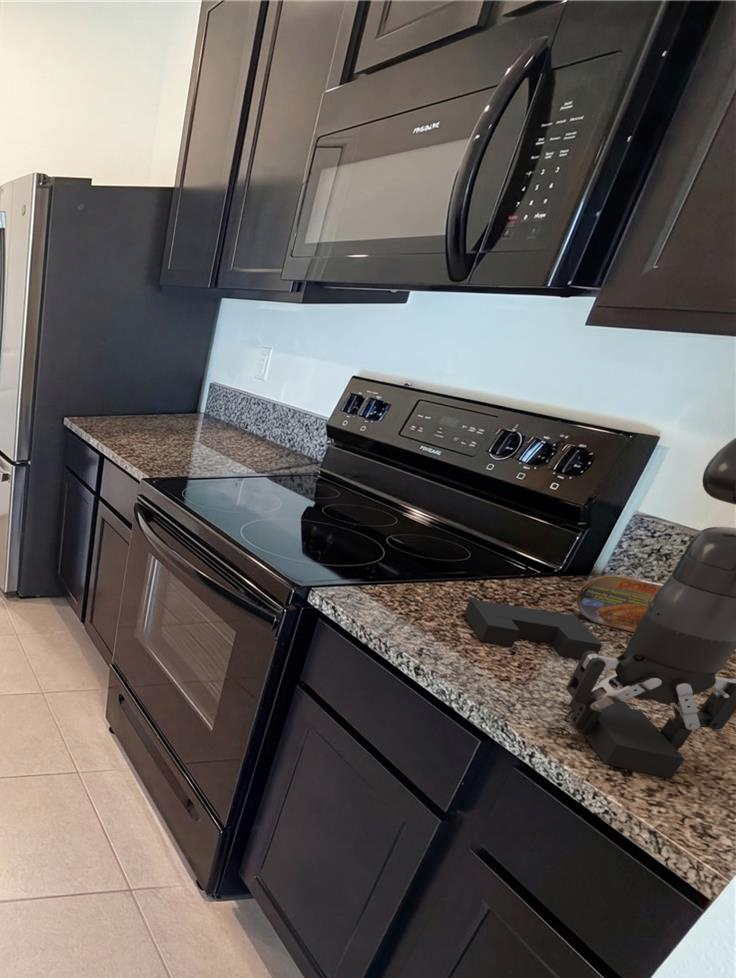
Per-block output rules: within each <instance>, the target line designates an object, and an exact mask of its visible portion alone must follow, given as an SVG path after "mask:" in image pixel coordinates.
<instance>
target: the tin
mask: <svg viewBox="0 0 736 978" xmlns="http://www.w3.org/2000/svg"><path fill="white" fill-rule="evenodd" d="M663 585H664V583H659V582H656V581H650V580H646V579H641V578H637V577H631V576H627V575H623V574H604V575H599V576H597V577H594V578H591V579H590V580H588V581H587V582H585V583H584V584H583V585H582V586H581V588H580V589H579V590H578V593H577V595H576V607H577V610H578V611H579V612H580V614H581V615H582V616H584V618H586V619H587V620H589V621H591V622H593V623H594V624H598V625H602V626H606V627H611V628H615V629H619V630H623V631H626V632H630V633H634V631H635V630H636V628H637V626H638V625H639V623H640V621H641V619H642V618H643V616H644V614H645V612H646V611H647V608H648V606H649V604H650V603H651V602H652V601H653V599H654V597H655V595H656V594H657V592H658V591H659V589H660V588H661V587H662V586H663Z"/></svg>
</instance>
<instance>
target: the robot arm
mask: <svg viewBox="0 0 736 978" xmlns="http://www.w3.org/2000/svg"><path fill="white" fill-rule="evenodd" d="M702 488H703V489H704V491H705V493H706V494H707V495H708V496H710V497H711V498H713V499H715V500H717V501H720V502H724V503H726V504H727V503H728V504H731V505H734V506H735V505H736V437H735V438H733V439H732V440H730V441H728V443H726V444H725V445H724V446H723V447H722V448H720V449H719V450H718V451H717V452H716V453H715V454H714V455H713V456H712V457H711V459H710V460H709V461H708V463H707V465H706V467H705V469H704V471H703V475H702ZM663 584H664V585H663V586H662V587H661V588H660V589H659V591H658V592H657V594H656V595H655V597H654V599H653V601H652V602H651V603H650V604H649V606H648V608H647V611H646V612H645V614H644V616H643V618H642V619H641V621H640V623H639V625H638V626H637V628H636V630H635V631H634V632H632V634H631V636H630V638H629V640H628V642H627V645H626V648H625V650H624V652H623V653H621V654H619V655H618V656H616V657H609V656H604V655H599V653H598V654H597V653H596V652H595V651H586V652H585V653H584V654H583V656H582V658H581V659H579V662H578V663H577V666H576V667H575V669H574V671H573V673H572V675H571V677H570V679H569V681H568V683H567V685H566V687H565V690H566V691H567V692H568V694H569V695H570V696H571V697H572V698H573V699H574V700H575V701H576V702H579V703H580V705H579V706H578V708H577V710H576V712H575V713H574V715H573V717H572V719H571V723H572V725H573V726H574V728H575V730H576V731H577V733H578V734H579V735H583V736H584V735H589V734H590V732H591V730H592V729H593V727H594V725H595V724H596V722H597V720H598V719H599V717H600V715H601V713H602V712H601V711H600V710H602V709H604V708H606V707H608V706H610V705H612V704H614V703H616V702H618V703H622V702H624V701H625V702H626V701H628V700H630V699H633V698H634V699H637V700H643V701H654V702H657V703H659V704H662V705H663V704H664V705H668V706H669V705H670V706H671V709H672V713H673V715H674V718H673V717H669V718H668V719H667V721H666V722H665V724H664V725H663V727H662V728H661V730H659V731H660V732H661V733H662V734H663V735H664V736H665V738H666V739H667V740H668V741H669V742H670V743H671V744H672V745H673V746H674V747H675V749H676V750H677V751H678V750H680V749H681V748H682V747H683V745H684V744H685V742H686V741H687V739H688V738H689V736H690V735H691V734H692V732H693V731H696V730H699V729H700V728H709V729H711V730H712V731H718V730H722V729H723V728H724V727H725V726H726V724H727V723H728V722H729V720H730V719H731V718H732V716H733V715H734V714H735V713H736V677H735V676H733V675H725V676H723V677H721V676H717V673H719V672H721V671H722V670H723V669H724V667H725V665H726V664H727V662H728V661H729V659H730V658H731V656H732V655H733V654H734V652H735V650H736V527H734V526H733V527H732V526H711V527H706V528H703V529H701V530H700V531H698V532H697V533H696V534H695V535H694V536H693V537H692V539H691V540H690V542H689V544H688V545H687V547H686V549H685V550H684V552H683V553H682V555H681V556H680V559H679V560H678V562H677V563H676V565H675V567H674V569H673V571H672V572H671V574H670V576H669V577H668V578H667V580H666V581H665V582H664V583H663ZM613 669H614V672H615V673H613V674H611V675H609V676H607V677H605V678H604V679H602V680H601V681H599V684H597V682H598V680H599V679H600V677H601V676H606V675H607V673H608V672H609V671H610V670H613ZM596 684H597V686H596ZM619 686H621V688H620V689H618V687H619ZM707 690H710V692H711V693H710V694H709V695H708V697H707V698H706V700H705V701H704V703H703V704H702V706H701V707H700V708H699V710H698V706H697V703H696V700H695V697H694V696H695V695H698V694H700V693H702V692H704V691H707Z"/></svg>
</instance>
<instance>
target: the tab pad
mask: <svg viewBox="0 0 736 978" xmlns="http://www.w3.org/2000/svg"><path fill="white" fill-rule="evenodd" d="M568 704H569V706H570V708H571V709H572V711H573V712H572V713H571V715H570V719H571V720H572V717H573V715H574V713H575V712H576V710H577V708H578V706H579V705H580V703H579V702H576V701H575V700H574V699H573V697H572V698H571V700H570V702H569V703H568ZM600 711H601V712H602V713H601V715H600V717H599V719H598V720H597V722H596V724H595V725H594V727H593V729H592V730H591V732H590V734H589V735H583V736H584V738H585V740H587V742H588V743H589V745H590V747H591V748H592V749H593V750H594V752H595V753H596V755H597V756H598V757H599V758H600V760H601V761H602V762H603V764H604V765H607V766H611V767H616V768H619V769H623V770H624V769H625V770H630V771H634V772H637V773H642V774H647V775H651V776H656V777H661V778H664V779H669V780H670V779H672V778H673V777H674V775H675V774H676V772H677V771H678V770H679V768H680V767H681V766H682V764H683V762H685V757H684V756H683V755H682V753H680V751H678V750H676V749H675V747H674V746H673V745H672V744H671V743H670V742H669V741H668V740H667V739H666V738H665V736H664V735H663V734H662V733H661V732H660V731H661V730H659V728H657V727H656V725H655V724H654V723H653V722H652V721H651V719H650V718H648V717H647V716H646V714H645V713H644V712H643V711H642V710H641V709H636V708H631V707H630V706H629V705H628V704H627V702H626V701H624V702H622V703H618V702H616V703H614V704H612V705H610V706H608V707H606V708H604V709H602V710H600Z"/></svg>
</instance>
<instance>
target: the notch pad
mask: <svg viewBox="0 0 736 978" xmlns="http://www.w3.org/2000/svg"><path fill="white" fill-rule="evenodd" d="M463 616H464V617H465V619H466V620H467V622H468V624H469V625H470V627H471V628H472V630H473V631H474V633H475V635H476V636H477V637H478V640H479V641H480V642H482V643H488V644H493V645H498V646H505V647H510V648H513V645H514V643H515V641H516V640H517V639H523V640H528V641H533V642H539V643H545V644H549V645H551V647H552V648H553V649H554V650H555V651H556V652H557V654H558V655H559V656H561V657H565V658H570V659H575V660H581V658H582V656H583V654H584V653H585V652H586V651H595V652H596V653H597V654H598V655H599V652H600V651H601V650H602V647H603V643H602V642H601V641H600V640H599V639H598V638H597V637H596V636H595V635H594V634H593V633H592V632H591V631H590V630H589V629H588V627H586V626H585V624H584V623H582V621H581V620H580V619H579V618H578V617H577V616H576V615H573V614H566V613H560V612H554V611H548V610H542V609H537V608H529V607H524V606H517V605H510V604H505V603H498V602H492V601H486V600H479V599H474V598H470V599H469V601H468V604H467V606H466V608H465V610H464V613H463Z"/></svg>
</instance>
